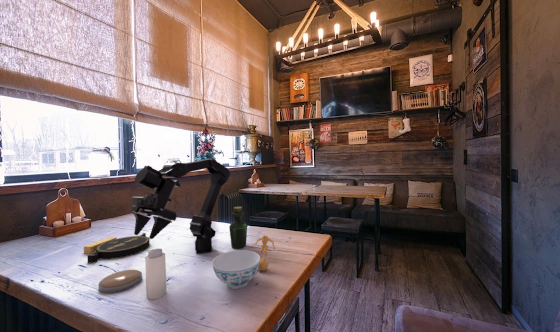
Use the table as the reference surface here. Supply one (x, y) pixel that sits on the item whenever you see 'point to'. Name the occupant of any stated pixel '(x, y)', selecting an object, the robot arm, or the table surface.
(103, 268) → the table surface
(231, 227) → the potion bottle
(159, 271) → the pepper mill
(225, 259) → the chinaware
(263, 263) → the figurine
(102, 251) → the decorative sign
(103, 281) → the display plinth
